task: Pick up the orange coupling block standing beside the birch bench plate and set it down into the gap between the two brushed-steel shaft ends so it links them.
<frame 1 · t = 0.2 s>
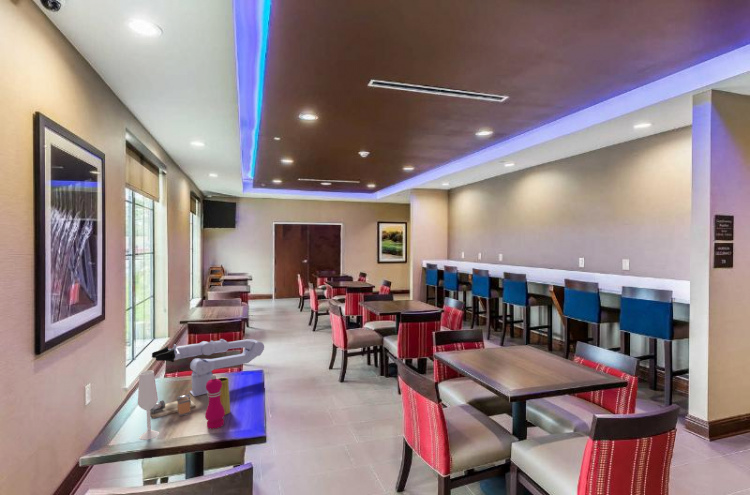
hand: (153, 356, 186), 21 cm above the table, tool horizontal, fingers open, 7 cm apart
pepper mill: (215, 425, 163), on the table
coupler: (184, 413, 175), on the table
vase: (222, 413, 175), on the table
shaft 1: (158, 413, 176), resting on bench plate
shaft 2: (184, 405, 184), resting on bench plate
bench plate: (171, 408, 181), on the table
champagne flute: (149, 435, 156), on the table
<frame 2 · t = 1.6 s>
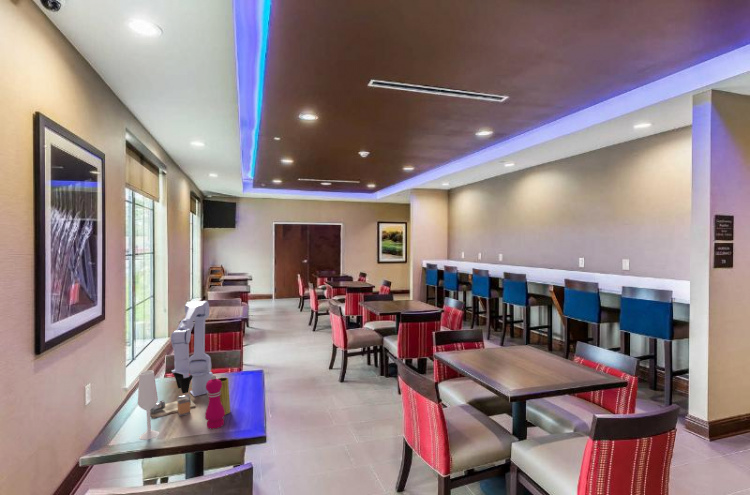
hand: (183, 390, 175), 10 cm above the table, tool pointing down, fingers open, 7 cm apart
nothing on the table moved.
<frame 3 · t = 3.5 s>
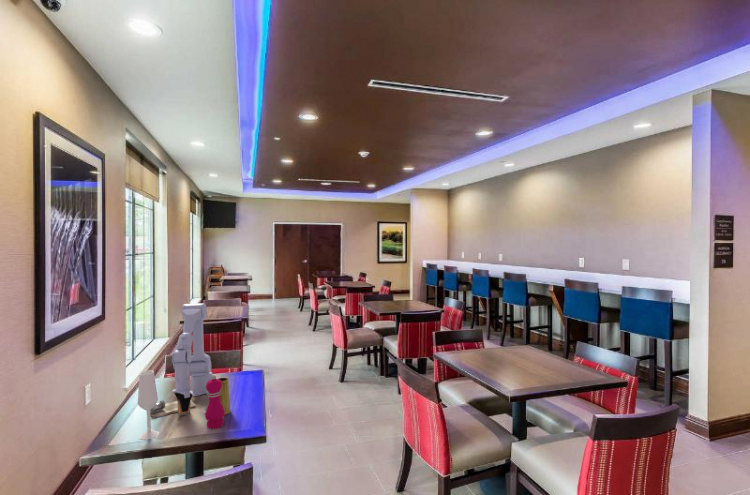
hand: (183, 409, 175), 2 cm above the table, tool pointing down, fingers closed on coupler, 4 cm apart
coupler: (184, 413, 175), on the table, touching gripper
everything else where it was.
when the fingers open (4 cm above the table, at t = 6.6 s): coupler stays where it is, resting on bench plate.
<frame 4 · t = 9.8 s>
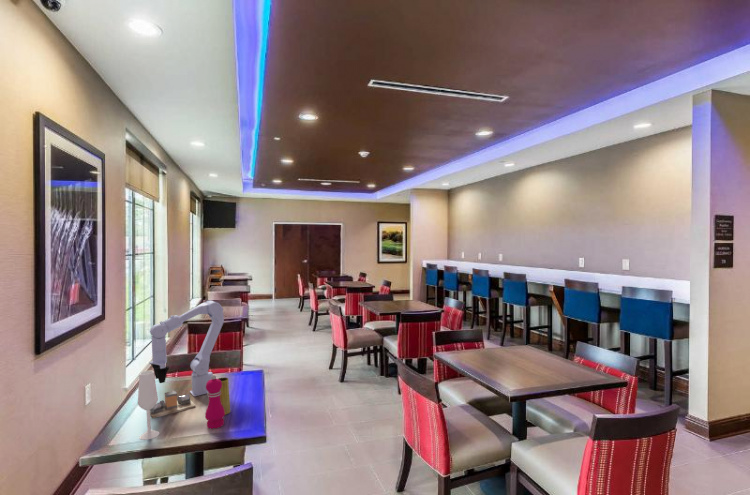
hand: (160, 380, 188), 10 cm above the table, tool pointing down, fingers open, 7 cm apart
coupler: (171, 406, 181), point 1 cm above the table, touching bench plate
everything else where it was.
at the end: coupler 0.1 cm off-centre on the bench plate, point 0.9 cm above the bench plate's base; coupler tilted 0°; the gripper is holding nothing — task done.
